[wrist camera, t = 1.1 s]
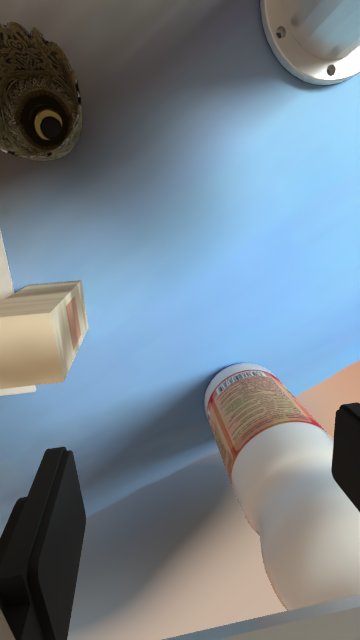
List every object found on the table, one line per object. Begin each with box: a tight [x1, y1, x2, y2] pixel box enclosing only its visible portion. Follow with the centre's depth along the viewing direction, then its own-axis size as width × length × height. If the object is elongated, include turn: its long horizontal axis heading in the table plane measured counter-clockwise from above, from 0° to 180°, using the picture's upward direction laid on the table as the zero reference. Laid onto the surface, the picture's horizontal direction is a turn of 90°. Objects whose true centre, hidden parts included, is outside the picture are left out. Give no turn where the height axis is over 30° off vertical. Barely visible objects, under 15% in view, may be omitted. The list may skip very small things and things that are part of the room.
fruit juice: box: [204, 363, 360, 611], centre depth 25 cm, size 9×9×28 cm
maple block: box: [0, 280, 88, 389], centre depth 27 cm, size 5×5×12 cm
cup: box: [0, 22, 83, 161], centre depth 24 cm, size 8×7×8 cm
